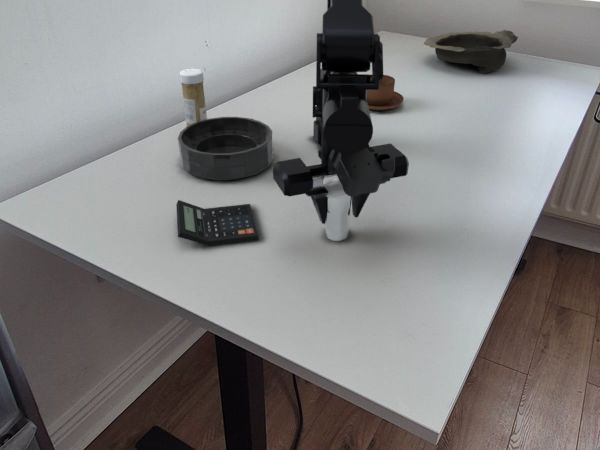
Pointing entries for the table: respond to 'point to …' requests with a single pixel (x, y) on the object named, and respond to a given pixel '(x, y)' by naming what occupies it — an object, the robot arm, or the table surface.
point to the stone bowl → (473, 48)
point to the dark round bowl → (226, 148)
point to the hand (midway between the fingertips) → (338, 219)
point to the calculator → (216, 224)
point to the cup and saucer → (384, 95)
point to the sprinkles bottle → (193, 95)
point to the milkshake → (337, 211)
